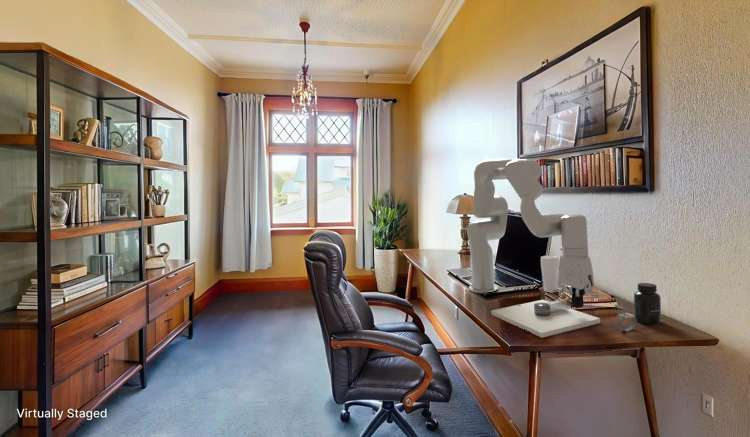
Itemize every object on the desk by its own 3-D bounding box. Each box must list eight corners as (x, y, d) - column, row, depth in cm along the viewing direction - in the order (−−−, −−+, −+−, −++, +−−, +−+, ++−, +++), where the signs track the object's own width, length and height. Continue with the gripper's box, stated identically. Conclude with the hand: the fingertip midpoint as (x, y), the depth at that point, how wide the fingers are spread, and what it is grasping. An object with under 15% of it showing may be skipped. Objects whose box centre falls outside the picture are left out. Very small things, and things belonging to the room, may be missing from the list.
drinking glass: (562, 293, 149) (561, 257, 148) (546, 294, 150) (545, 259, 149) (555, 289, 156) (553, 255, 155) (539, 290, 156) (537, 256, 155)
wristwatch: (630, 327, 111) (630, 311, 111) (639, 330, 108) (638, 314, 108) (614, 330, 110) (614, 314, 109) (623, 334, 107) (622, 317, 107)
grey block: (542, 316, 120) (541, 307, 120) (531, 312, 125) (530, 303, 125) (570, 310, 124) (570, 301, 124) (558, 306, 129) (558, 297, 129)
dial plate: (491, 314, 131) (491, 310, 131) (543, 303, 139) (542, 299, 139) (541, 337, 108) (541, 332, 108) (600, 322, 116) (600, 317, 116)
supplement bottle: (658, 326, 110) (657, 288, 109) (631, 322, 115) (630, 285, 114) (663, 320, 114) (662, 283, 114) (637, 316, 120) (636, 280, 119)
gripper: (548, 251, 124) (551, 303, 125) (586, 256, 110) (589, 315, 111) (564, 248, 126) (567, 299, 127) (604, 253, 112) (607, 311, 113)
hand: (577, 306), depth 119 cm, fingers closed
